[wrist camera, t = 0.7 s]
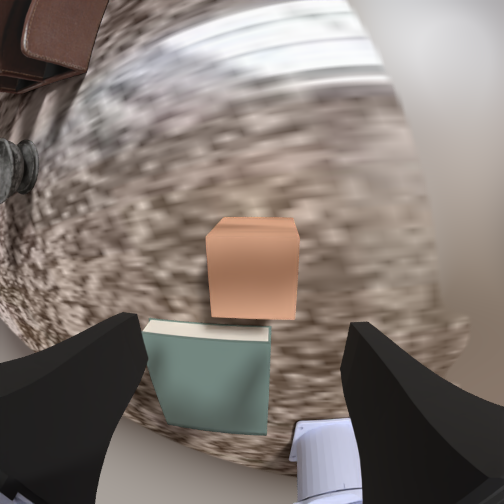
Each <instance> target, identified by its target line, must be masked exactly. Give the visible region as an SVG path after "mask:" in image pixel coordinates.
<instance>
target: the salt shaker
mask: <svg viewBox="0 0 504 504" xmlns="http://www.w3.org/2000/svg"><path fill="white" fill-rule="evenodd" d="M38 169H39V157H38V152H37V149H36V147H35V145H34V144H33V142H31V141H30V140H23V141H21V142H20V143H19V144H18V145H15V144H14V143H12V142H10V141H7V140H6V139H4V138H0V204H1V203H3V202H4V201H5V200H6V199H7V198H9V197H10V196H11V195H12V194H13V193H14V192H15V191H17V192H18V193H20V194H26V193H28V192H29V191H31V189H32V188H33V187H34V185H35V182H36V180H37V175H38Z"/></svg>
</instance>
